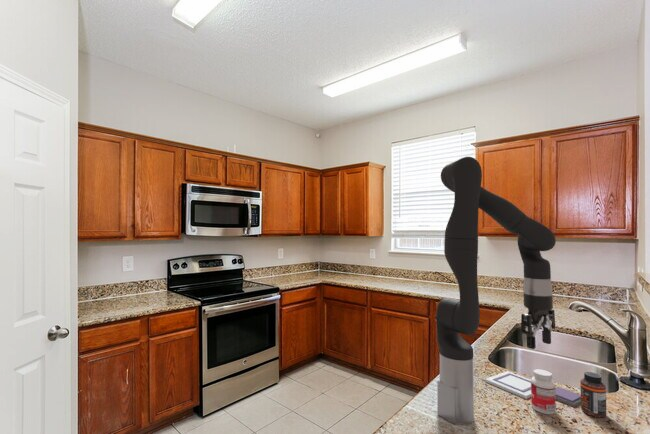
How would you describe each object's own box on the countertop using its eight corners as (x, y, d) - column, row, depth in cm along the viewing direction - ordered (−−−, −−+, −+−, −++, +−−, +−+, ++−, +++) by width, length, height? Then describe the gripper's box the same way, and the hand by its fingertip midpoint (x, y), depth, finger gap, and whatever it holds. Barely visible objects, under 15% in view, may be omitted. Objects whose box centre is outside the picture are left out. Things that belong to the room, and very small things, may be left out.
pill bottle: (533, 402, 103) (533, 366, 103) (557, 409, 98) (556, 372, 99) (529, 409, 98) (528, 372, 99) (553, 417, 94) (553, 378, 94)
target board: (526, 399, 104) (526, 395, 104) (485, 381, 116) (485, 378, 116) (548, 389, 112) (547, 385, 112) (507, 373, 124) (507, 370, 124)
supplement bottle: (575, 407, 100) (574, 369, 101) (595, 407, 100) (594, 370, 100) (591, 418, 94) (590, 378, 95) (612, 419, 94) (611, 378, 94)
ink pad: (574, 407, 100) (574, 402, 100) (545, 395, 107) (545, 391, 107) (585, 400, 104) (585, 395, 104) (557, 390, 111) (557, 385, 111)
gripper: (537, 297, 94) (539, 354, 93) (563, 292, 101) (565, 345, 100) (511, 292, 100) (513, 346, 100) (537, 288, 107) (539, 338, 107)
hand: (539, 345), depth 100 cm, fingers open, 8 cm apart
